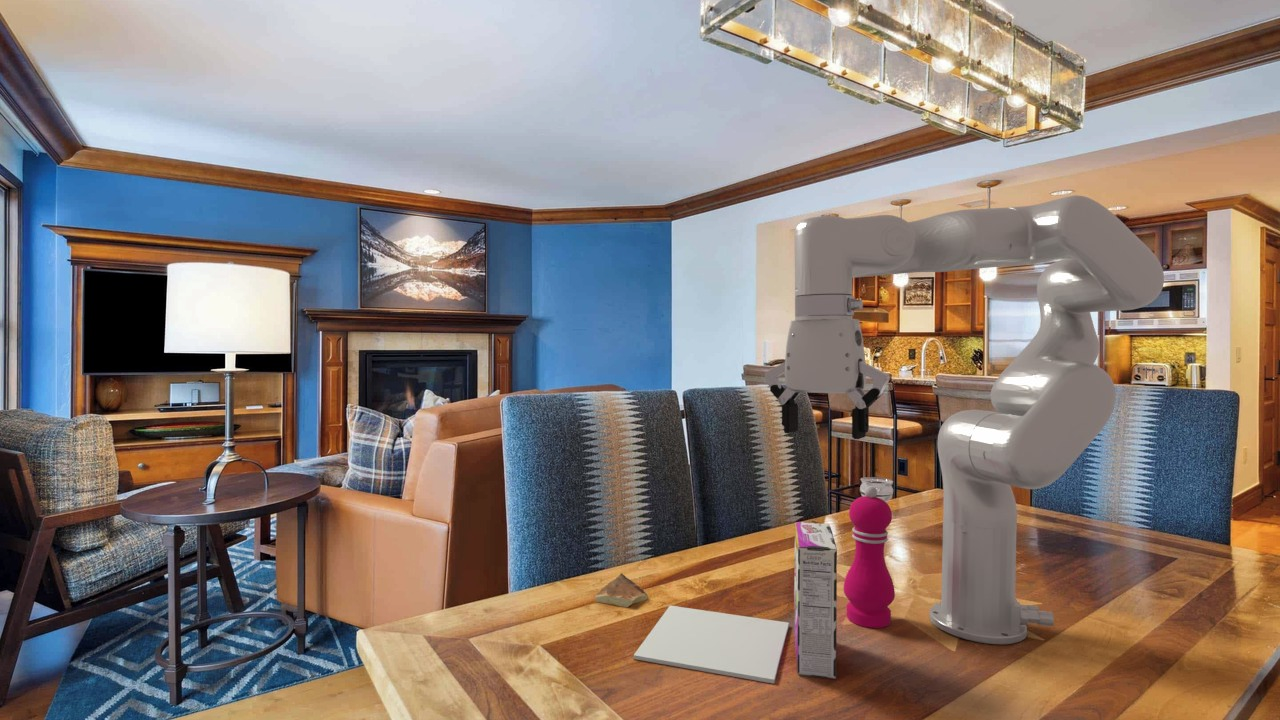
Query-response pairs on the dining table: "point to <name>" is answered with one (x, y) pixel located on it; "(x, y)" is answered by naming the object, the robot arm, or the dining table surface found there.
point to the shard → (621, 592)
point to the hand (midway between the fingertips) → (823, 434)
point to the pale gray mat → (716, 643)
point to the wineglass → (878, 487)
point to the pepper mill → (869, 563)
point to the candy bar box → (815, 600)
